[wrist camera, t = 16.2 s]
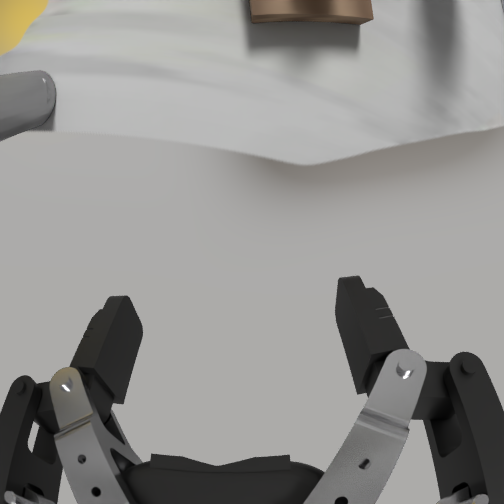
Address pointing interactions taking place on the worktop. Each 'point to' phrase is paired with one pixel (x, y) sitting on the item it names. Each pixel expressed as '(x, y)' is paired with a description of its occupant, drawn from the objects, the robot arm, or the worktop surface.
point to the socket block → (311, 11)
